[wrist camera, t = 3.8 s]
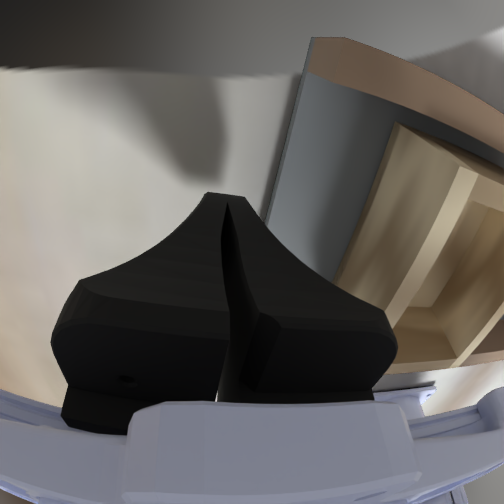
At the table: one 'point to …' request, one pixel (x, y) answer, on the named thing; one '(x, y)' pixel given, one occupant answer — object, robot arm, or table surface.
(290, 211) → the bay
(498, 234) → the crate
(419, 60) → the table surface
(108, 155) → the table surface
